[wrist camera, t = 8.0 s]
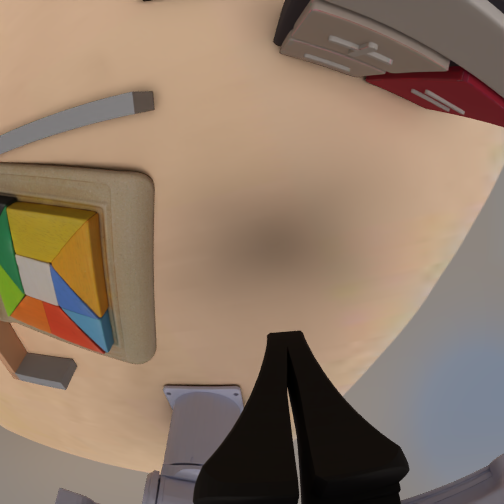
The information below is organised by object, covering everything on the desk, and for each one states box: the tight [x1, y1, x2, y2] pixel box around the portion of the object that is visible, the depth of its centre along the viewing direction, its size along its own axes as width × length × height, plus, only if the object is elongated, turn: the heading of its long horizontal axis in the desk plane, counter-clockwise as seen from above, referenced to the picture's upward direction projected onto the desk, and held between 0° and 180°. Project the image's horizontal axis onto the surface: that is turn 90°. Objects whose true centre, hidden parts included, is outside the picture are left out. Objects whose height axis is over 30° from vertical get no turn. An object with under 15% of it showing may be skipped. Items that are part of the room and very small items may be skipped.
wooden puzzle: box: [0, 162, 156, 364], centre depth 21 cm, size 18×19×4 cm
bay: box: [0, 91, 154, 390], centre depth 21 cm, size 24×24×4 cm
